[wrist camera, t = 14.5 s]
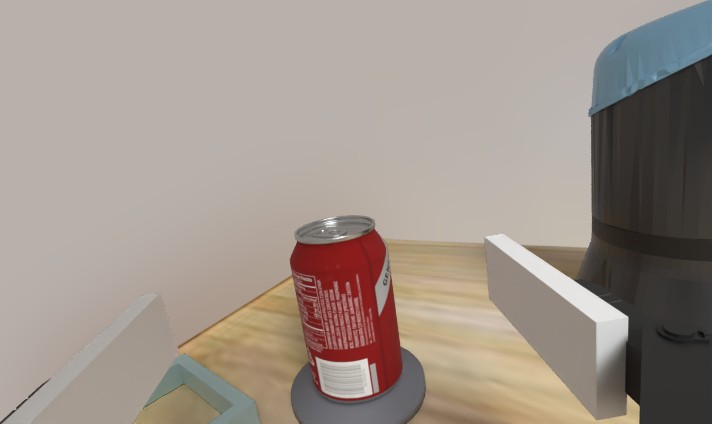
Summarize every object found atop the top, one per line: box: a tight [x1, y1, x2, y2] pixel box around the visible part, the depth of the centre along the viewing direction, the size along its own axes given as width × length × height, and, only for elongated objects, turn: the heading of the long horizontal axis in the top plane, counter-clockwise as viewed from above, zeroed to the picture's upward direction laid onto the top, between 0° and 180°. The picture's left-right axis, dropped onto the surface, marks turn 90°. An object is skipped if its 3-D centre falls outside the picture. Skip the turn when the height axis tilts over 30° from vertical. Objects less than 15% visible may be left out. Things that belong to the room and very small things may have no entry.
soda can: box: [290, 215, 403, 404], centre depth 27 cm, size 7×7×12 cm
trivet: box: [291, 347, 426, 424], centre depth 28 cm, size 10×10×1 cm
